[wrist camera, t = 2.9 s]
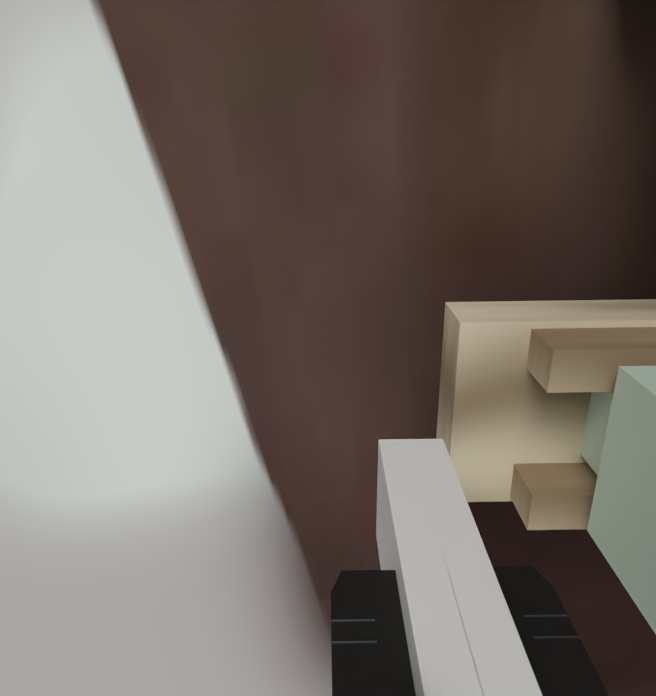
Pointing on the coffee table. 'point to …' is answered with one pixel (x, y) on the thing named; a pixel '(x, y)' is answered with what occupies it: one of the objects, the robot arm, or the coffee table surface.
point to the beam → (533, 397)
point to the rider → (626, 481)
